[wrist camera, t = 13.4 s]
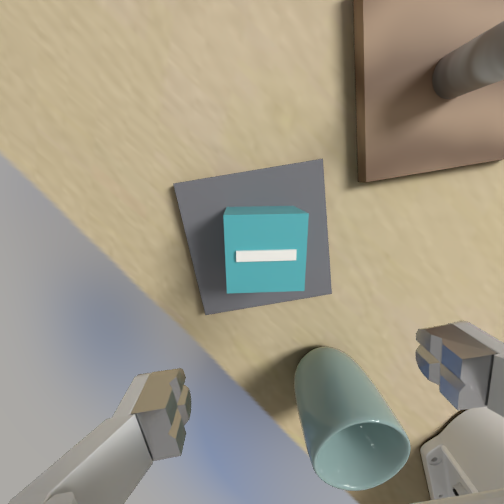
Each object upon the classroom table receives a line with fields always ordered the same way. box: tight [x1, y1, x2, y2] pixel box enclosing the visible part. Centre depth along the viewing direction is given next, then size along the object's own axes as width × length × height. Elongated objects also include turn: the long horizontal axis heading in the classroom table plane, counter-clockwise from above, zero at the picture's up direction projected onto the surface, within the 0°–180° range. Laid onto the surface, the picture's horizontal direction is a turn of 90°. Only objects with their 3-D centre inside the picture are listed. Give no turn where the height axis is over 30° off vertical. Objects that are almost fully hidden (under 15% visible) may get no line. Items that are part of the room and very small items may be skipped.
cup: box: [294, 347, 411, 491], centre depth 24 cm, size 8×8×10 cm
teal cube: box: [223, 206, 309, 294], centre depth 20 cm, size 6×6×5 cm
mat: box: [173, 159, 332, 315], centre depth 23 cm, size 13×13×1 cm
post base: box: [353, 0, 504, 182], centre depth 16 cm, size 14×14×8 cm
